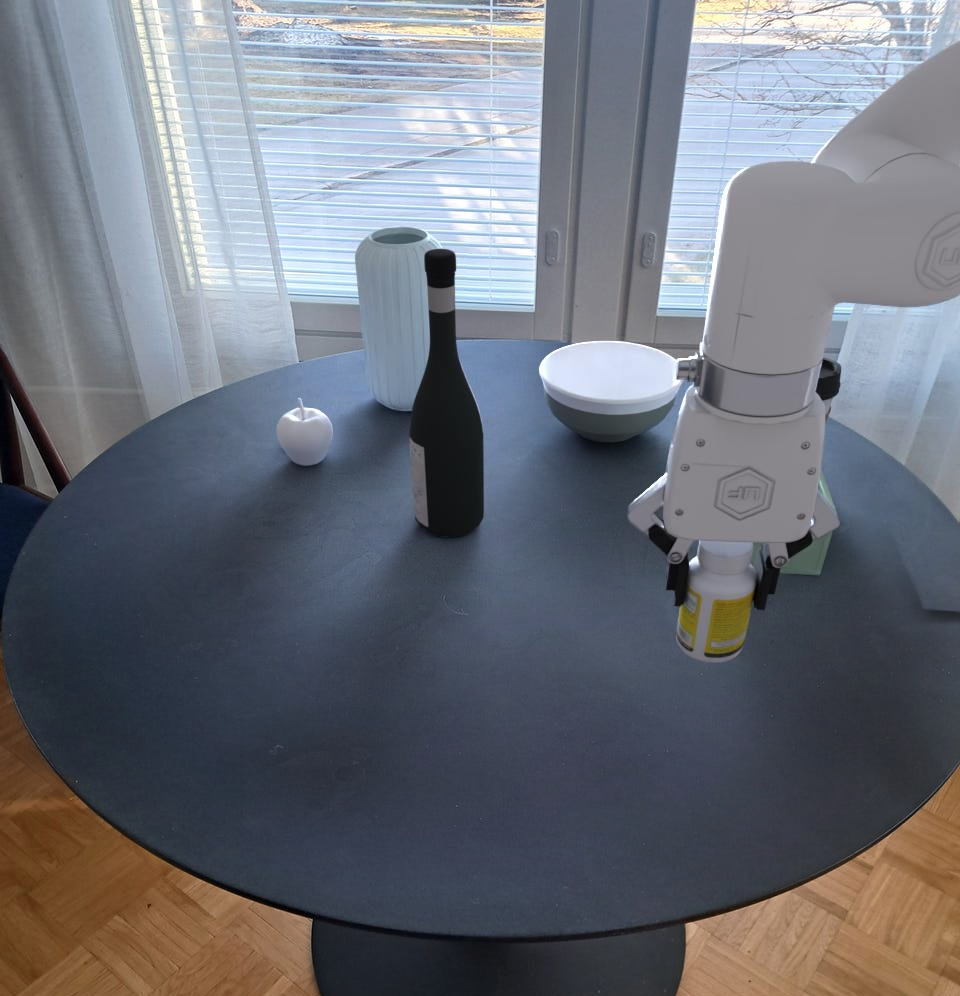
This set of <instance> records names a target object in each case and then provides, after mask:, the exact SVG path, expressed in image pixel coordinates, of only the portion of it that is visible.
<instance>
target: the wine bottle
mask: <svg viewBox="0 0 960 996" xmlns="http://www.w3.org/2000/svg"><path fill="white" fill-rule="evenodd" d="M424 265H425V272H426V276H427V290H428V308H429V329H430V348H429V356H428V361H427V365H426V368H425V372H424V375H423V378H422V381H421V383H420V386H419V389H418V392H417V395H416V397H415V400H414V404H413V408H412V411H411V413H410V421H409V431H408V433H409V434H408V438H409V440H408V441H409V454H410V468H411V469H410V471H411V483H412V486H411V487H412V499H413V500H412V501H413V513H414V520H415V522H416V523H417V525H418V527H419V528H420V529H421V530H423V531H425V532H426V533H428V534H429V535H432V536H435V537H440V538H441V537H442V538H454V537H455V538H456V537H462V536H464V535H466V534H469V533H471V532H473V531H474V530H476V529H477V528H478V527H479V526H480V525H481V523H482V521H483V519H484V516H485V473H484V472H485V467H484V465H485V464H484V463H485V462H484V461H485V460H484V459H485V458H484V457H485V456H484V450H485V449H484V427H483V419H482V416H481V415H482V414H481V410H480V407H479V404H478V401H477V398H476V395H475V394H474V390H473V388H472V387H471V384H470V382H469V379H468V377H467V375H466V372H465V369H464V367H463V365H462V361H461V358H460V355H459V350H458V344H457V326H456V325H457V323H456V319H457V318H456V272H457V255H456V252H455V251H454V250H451V249H448V248H442V249H432V250H429V251H427V252H426V253H425V255H424Z"/></svg>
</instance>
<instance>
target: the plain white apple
mask: <svg viewBox="0 0 960 996" xmlns="http://www.w3.org/2000/svg"><path fill="white" fill-rule="evenodd" d="M297 404H298V407H295V408H294V409H292V410H289V411H287V412H286V413H284V414H283V415H282V417H281V418H280V419H278V422H277V425H276V429H275V430H276V431H275V432H276V433H275V434H276V438H277V441H278V443H279V445H280V447H281V448H282V449H283V451H284V452H285V453H286V455H287V456H288V457H289V458H290V460H291V461H292V462H293V463H295V464H296V465H300V466H313V465H314V466H315V465H317V464H319V463H321V462H322V461H324V460H325V458H326V457H327V455H328V452H329V451H330V447H331V444H332V441H333V438H334V428H333V424H332V422H331V420H330V419H329V417H328V416H327V415H326V414H325V413H323V412H322V411H320V410H319V409H317V408H309V407H304V405H303V401H302V398H301V397H297Z"/></svg>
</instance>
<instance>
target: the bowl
mask: <svg viewBox="0 0 960 996" xmlns="http://www.w3.org/2000/svg"><path fill="white" fill-rule="evenodd" d="M677 360H678V359H676V358H674V357H672V356H671V355H669V354H668V353H665V352H664V351H663V350H659V349H657V348H654V347H652V346H651V347H650V346H647V345H643V344H638V343H633V342H627V341H617V340H616V341H613V340H598V341H596V340H595V341H585V342H580V343H574V344H569V345H566V346H563V347H561V348H559V349H556V350H553V351H552V352H550V353H549V354H548V355H546V356H545V357H544V359H543V360H542V361H541V363H540V365H539V368H538V370H539V371H538V372H539V376H540V379H541V381H542V385H543V390H544V400H545V402H546V404H547V406H548V408H549V409H550V412H551V414H552V415H553V416H554V417H555V418H556V419H557V420H558V421H559V422H561V423H562V424H563V425H564V426H565V427H566V428H568V429H570V430H572V431H573V432H576V433H577V434H579V436H581V437H583V438H585V439H588V440H590V441H592V442H593V441H594V442H599V443H619V442H625V441H628V440H630V439H632V438H633V437H635V436H638V435H641V434H644V433H646V432H647V431H650V430H651V429H653V428H654V427H656V426H658V425H660V423H662V421H664V420H665V418H666V417H667V416H668V415H669V413H670V412H671V410H672V409H673V407H674V405H675V402H676V399H677V394H678V392H679V390H680V388H681V386H682V385H683V383H684V382H685V380H676V365H677Z"/></svg>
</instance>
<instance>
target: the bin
mask: <svg viewBox="0 0 960 996" xmlns="http://www.w3.org/2000/svg"><path fill="white" fill-rule="evenodd" d="M818 489H819V490H820V492H821V493H822V494H823V496H824V497H825V498H826V500H827V501H828V502H829V503H830V505H831V506H832V507H833V509H834V510H835V511H836V513H837V514H838V511H837V509H836V506H835V502H834V501H833V499H832V495H831V492H830V490H829V487H828V484H827V481H826V478H825V475H824V472H823V470H822V468H821V469H820V476H819V483H818ZM833 532H834V530H833V531H831V532H830V533H828V534H826V535H824V536H823V537H821V538H819V539H815V540H813V542H812V544H811V545H810V546H808V547H807V548H805V549H804V550H802V551H801V552H799V553H797V554H796V555H794V556H793V557H791V558H790V559H789V562H788V564H787V565H786V566H785V567H783V568H781V569H780V574H788V575H805V576H821V573H822V570H823V566H824V563H825V559H826V556H827V554H828V553H827V552H828V550H829V545H830V543H831V539H832V535H833ZM764 544H766V543H753V546H754V549H753V555H752V561H751V563H750V564H751V565H752V566H753V568H754V565H755V560H756V555H757V551H758V549H760V547H761V545H764Z"/></svg>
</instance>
